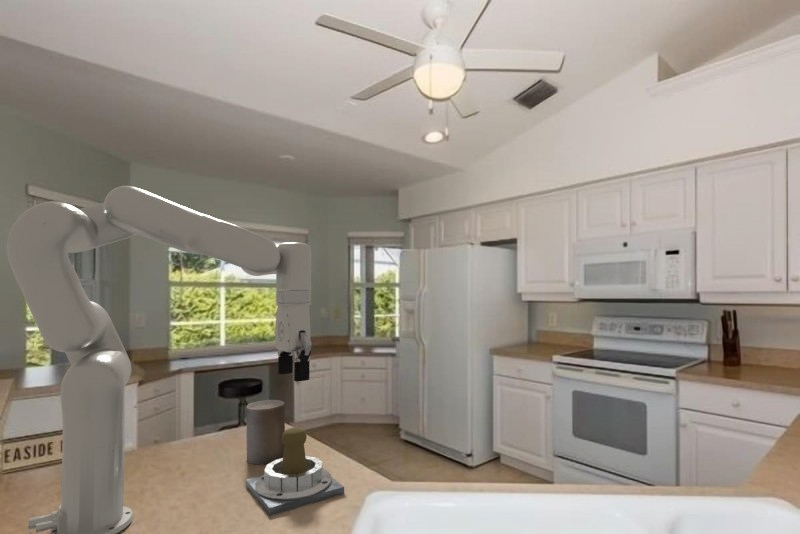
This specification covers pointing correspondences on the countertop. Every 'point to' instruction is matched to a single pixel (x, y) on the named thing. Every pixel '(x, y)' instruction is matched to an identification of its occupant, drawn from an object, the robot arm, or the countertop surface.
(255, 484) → the rosette plate
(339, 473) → the countertop surface
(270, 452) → the pillar candle
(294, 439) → the olive knobbed peg
